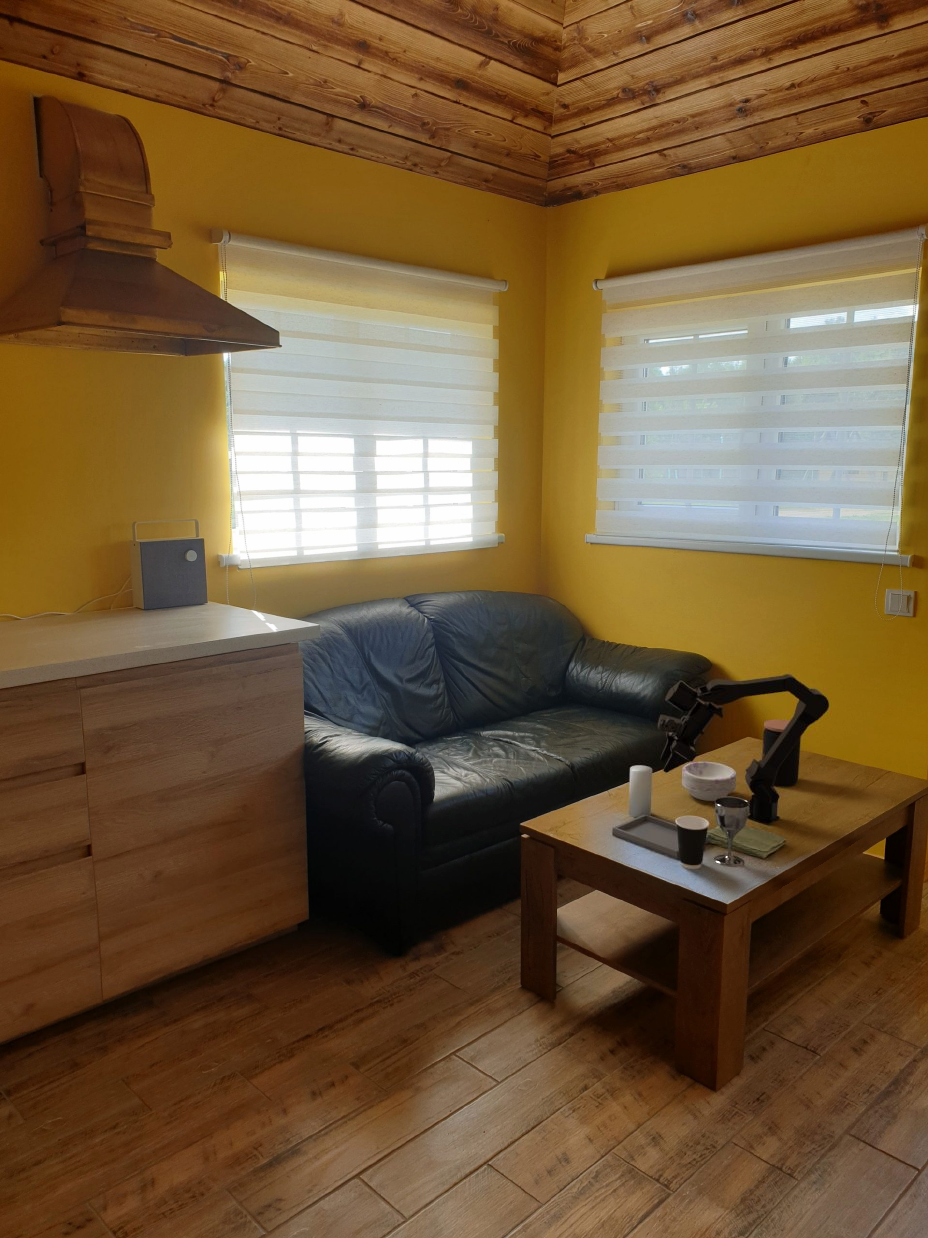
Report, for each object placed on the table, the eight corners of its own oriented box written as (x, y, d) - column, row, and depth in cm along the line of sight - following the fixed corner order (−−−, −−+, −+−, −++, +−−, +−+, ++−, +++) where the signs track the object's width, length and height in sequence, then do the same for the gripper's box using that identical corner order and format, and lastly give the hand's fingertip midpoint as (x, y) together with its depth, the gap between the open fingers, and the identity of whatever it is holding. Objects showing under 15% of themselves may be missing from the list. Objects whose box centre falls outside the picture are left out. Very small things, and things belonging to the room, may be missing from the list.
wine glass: (747, 868, 221) (750, 809, 219) (713, 866, 223) (716, 807, 220) (744, 855, 229) (747, 797, 226) (711, 852, 230) (714, 795, 228)
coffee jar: (767, 773, 288) (770, 717, 284) (802, 780, 281) (805, 723, 278) (755, 783, 279) (759, 725, 276) (791, 790, 273) (795, 731, 270)
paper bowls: (727, 809, 259) (729, 782, 257) (674, 799, 266) (675, 773, 265) (740, 792, 272) (742, 766, 270) (689, 783, 279) (691, 758, 278)
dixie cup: (666, 862, 225) (668, 819, 223) (691, 855, 229) (693, 813, 227) (689, 874, 218) (691, 830, 216) (714, 867, 222) (716, 824, 220)
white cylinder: (655, 814, 255) (656, 769, 253) (641, 820, 251) (643, 774, 249) (637, 808, 259) (638, 764, 257) (624, 813, 255) (625, 768, 253)
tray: (708, 843, 236) (709, 836, 235) (676, 859, 226) (677, 851, 226) (644, 820, 250) (645, 814, 250) (612, 835, 241) (612, 827, 241)
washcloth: (766, 863, 225) (766, 850, 225) (700, 843, 237) (700, 831, 237) (788, 846, 235) (789, 834, 234) (724, 828, 247) (724, 816, 246)
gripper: (668, 695, 258) (636, 739, 261) (675, 714, 240) (640, 761, 243) (701, 717, 258) (669, 761, 261) (711, 737, 240) (676, 784, 243)
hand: (663, 766), depth 252 cm, fingers open, 9 cm apart
